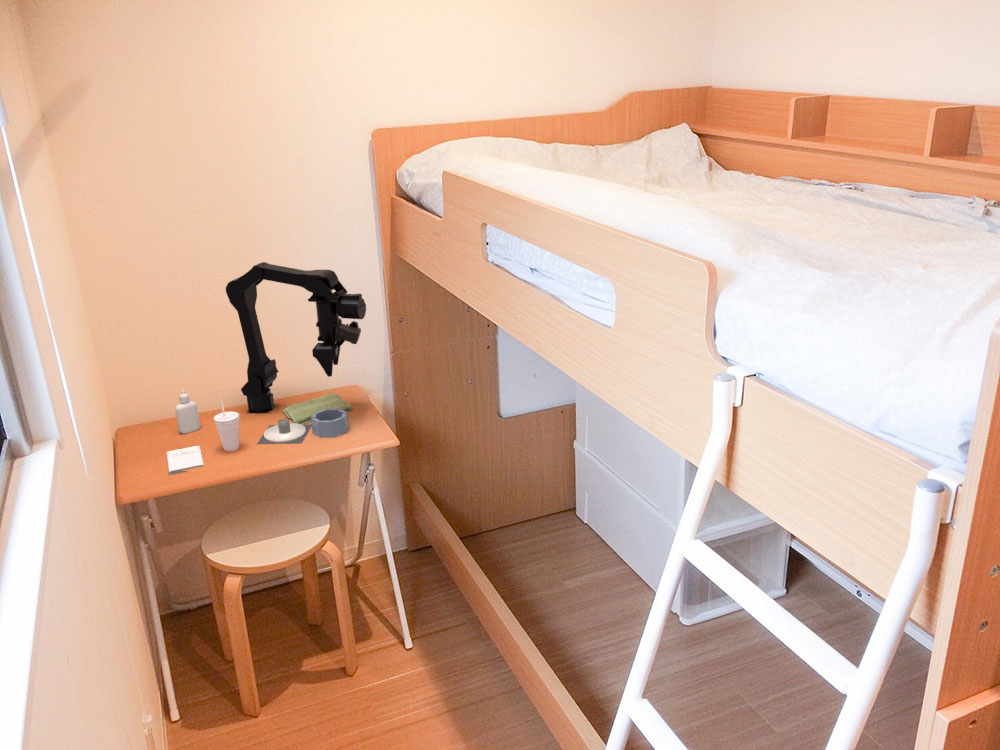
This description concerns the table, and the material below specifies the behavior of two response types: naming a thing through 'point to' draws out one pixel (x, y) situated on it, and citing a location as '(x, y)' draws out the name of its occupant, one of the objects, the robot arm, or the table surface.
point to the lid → (284, 432)
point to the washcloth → (315, 408)
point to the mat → (298, 441)
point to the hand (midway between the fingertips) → (332, 370)
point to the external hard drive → (184, 459)
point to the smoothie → (228, 429)
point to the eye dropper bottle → (187, 414)
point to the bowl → (329, 423)
